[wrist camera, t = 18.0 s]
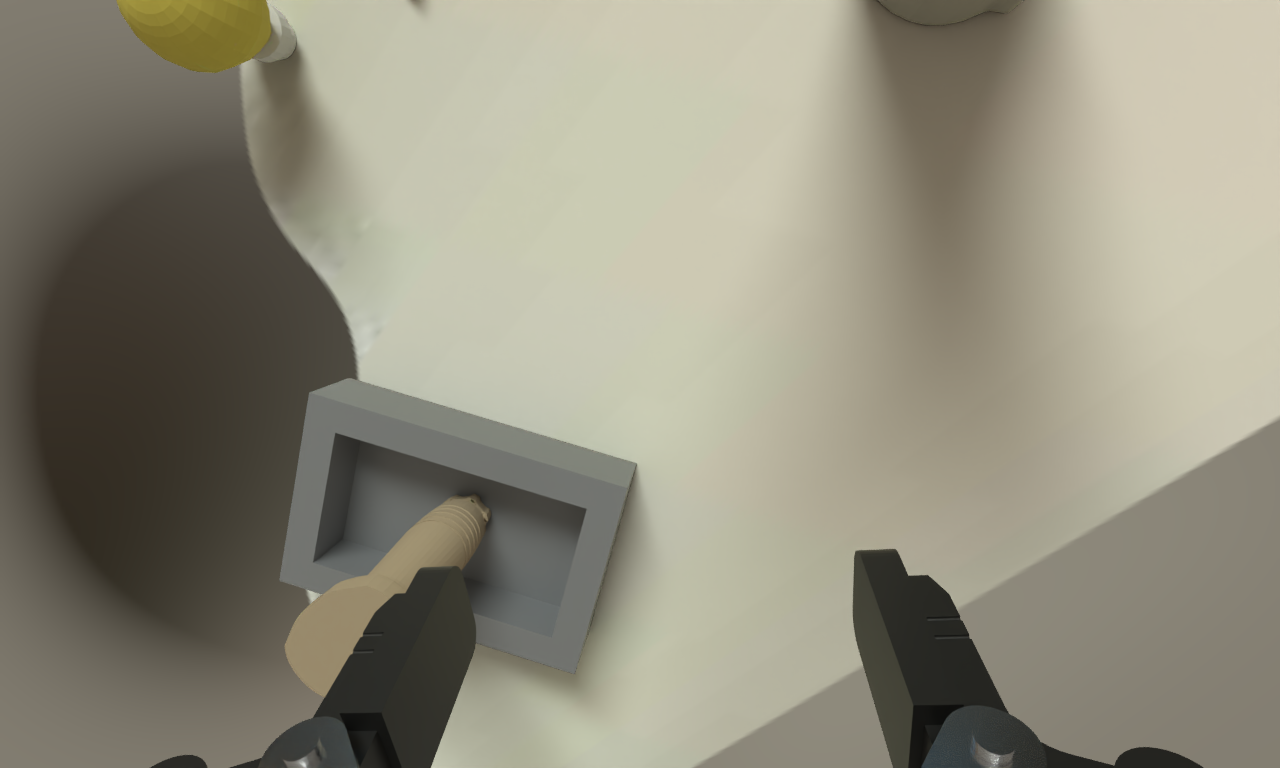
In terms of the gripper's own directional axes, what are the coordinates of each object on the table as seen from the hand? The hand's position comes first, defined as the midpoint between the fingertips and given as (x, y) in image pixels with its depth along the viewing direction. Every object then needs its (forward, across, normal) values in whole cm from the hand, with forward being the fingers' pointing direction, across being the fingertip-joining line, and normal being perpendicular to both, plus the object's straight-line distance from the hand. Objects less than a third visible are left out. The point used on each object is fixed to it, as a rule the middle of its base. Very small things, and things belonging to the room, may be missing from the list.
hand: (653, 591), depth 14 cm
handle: (+26, +15, +16) cm, 34 cm away
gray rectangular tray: (+26, +15, +16) cm, 34 cm away
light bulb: (+34, +23, -14) cm, 43 cm away
